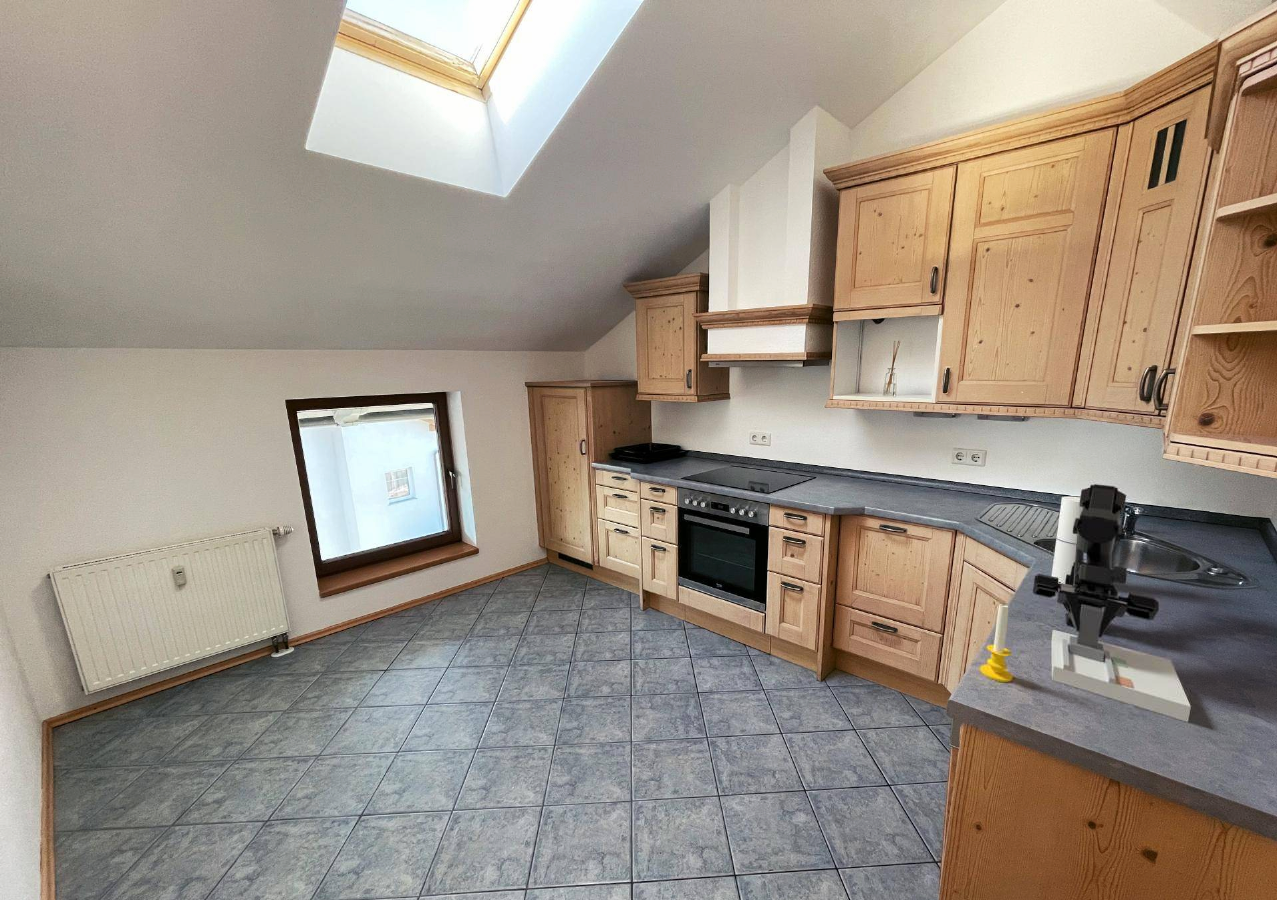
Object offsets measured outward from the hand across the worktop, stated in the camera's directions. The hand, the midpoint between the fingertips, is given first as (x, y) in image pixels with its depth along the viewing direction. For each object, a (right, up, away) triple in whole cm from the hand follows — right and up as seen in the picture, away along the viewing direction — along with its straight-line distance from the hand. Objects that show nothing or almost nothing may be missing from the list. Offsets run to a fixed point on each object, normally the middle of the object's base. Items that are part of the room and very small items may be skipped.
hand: (1088, 633), depth 96 cm
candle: (-19, -9, 0) cm, 21 cm away
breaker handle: (+1, -5, +2) cm, 5 cm away
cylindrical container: (+35, -2, +43) cm, 55 cm away
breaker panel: (+3, -8, -1) cm, 9 cm away
